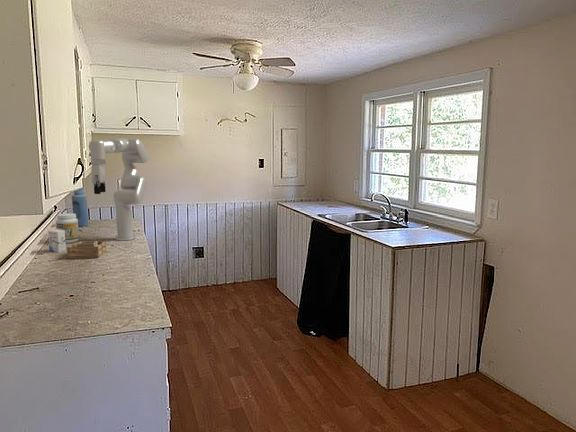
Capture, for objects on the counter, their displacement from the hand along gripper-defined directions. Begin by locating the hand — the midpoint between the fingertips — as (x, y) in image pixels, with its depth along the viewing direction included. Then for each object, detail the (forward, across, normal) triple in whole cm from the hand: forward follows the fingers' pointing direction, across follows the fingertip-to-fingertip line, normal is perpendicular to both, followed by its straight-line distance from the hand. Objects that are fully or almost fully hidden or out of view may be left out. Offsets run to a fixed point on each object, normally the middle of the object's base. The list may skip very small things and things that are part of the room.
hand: (100, 193), depth 252 cm
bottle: (+32, -76, -37) cm, 91 cm away
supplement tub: (+32, -22, -27) cm, 48 cm away
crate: (+32, +15, -4) cm, 36 cm away
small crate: (+31, +15, -4) cm, 35 cm away
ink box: (+32, +3, -24) cm, 41 cm away
